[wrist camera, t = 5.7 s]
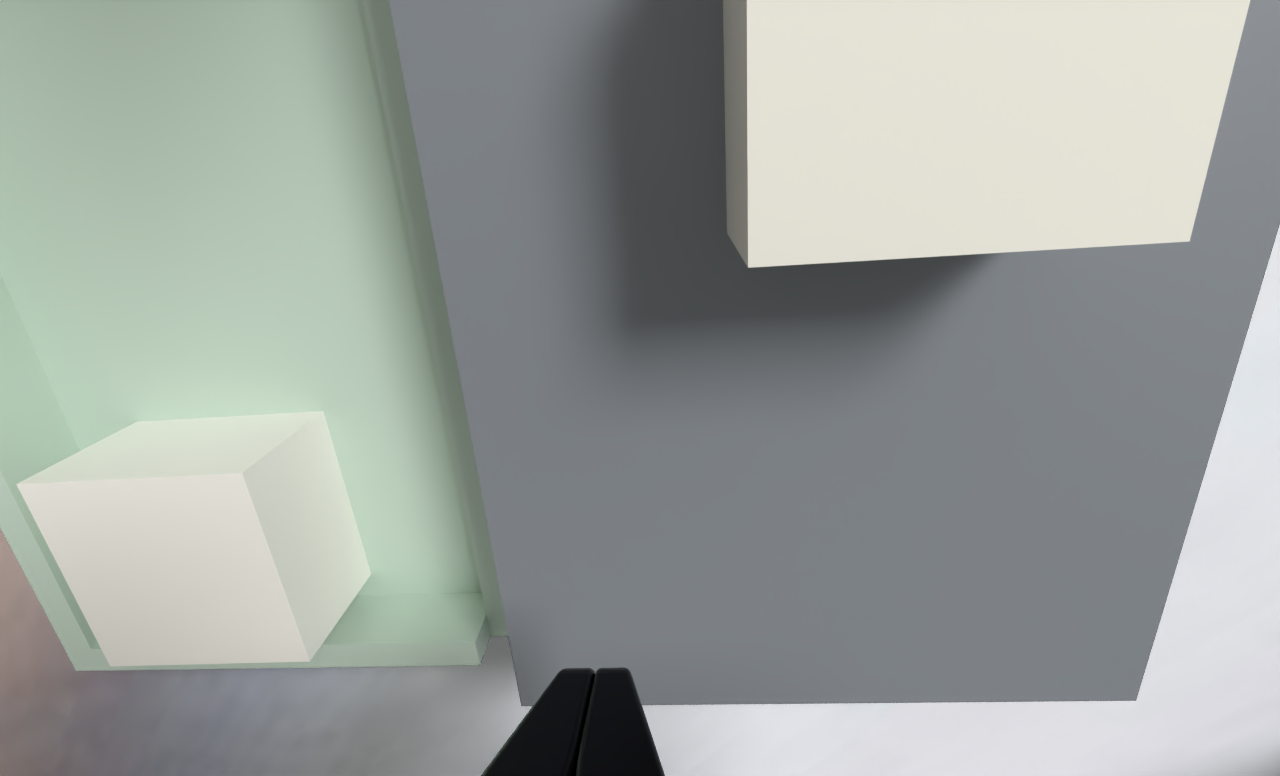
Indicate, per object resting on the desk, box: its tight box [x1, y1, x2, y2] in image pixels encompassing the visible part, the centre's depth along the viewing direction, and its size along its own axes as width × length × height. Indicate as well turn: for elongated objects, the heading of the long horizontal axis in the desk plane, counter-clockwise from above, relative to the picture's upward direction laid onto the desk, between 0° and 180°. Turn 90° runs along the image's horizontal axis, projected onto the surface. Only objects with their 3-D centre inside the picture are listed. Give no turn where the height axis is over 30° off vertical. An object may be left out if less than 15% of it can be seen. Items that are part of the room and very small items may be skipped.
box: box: [0, 0, 508, 671], centre depth 11 cm, size 15×10×2 cm, turn 4°
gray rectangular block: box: [389, 0, 1280, 706], centre depth 10 cm, size 15×11×3 cm
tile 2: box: [16, 411, 371, 666], centre depth 12 cm, size 4×4×2 cm
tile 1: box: [723, 0, 1250, 268], centre depth 6 cm, size 4×4×2 cm
